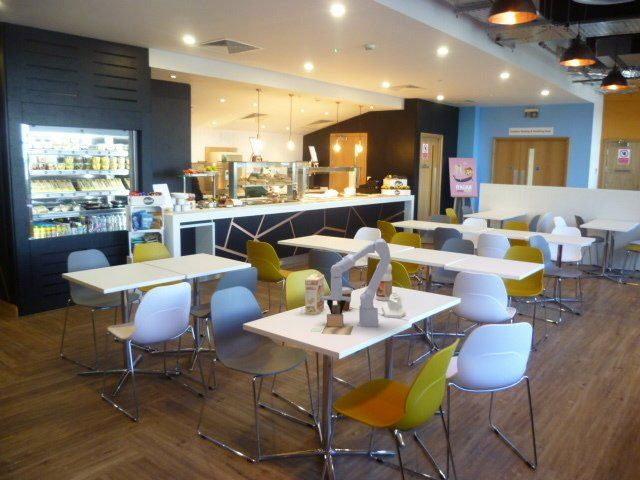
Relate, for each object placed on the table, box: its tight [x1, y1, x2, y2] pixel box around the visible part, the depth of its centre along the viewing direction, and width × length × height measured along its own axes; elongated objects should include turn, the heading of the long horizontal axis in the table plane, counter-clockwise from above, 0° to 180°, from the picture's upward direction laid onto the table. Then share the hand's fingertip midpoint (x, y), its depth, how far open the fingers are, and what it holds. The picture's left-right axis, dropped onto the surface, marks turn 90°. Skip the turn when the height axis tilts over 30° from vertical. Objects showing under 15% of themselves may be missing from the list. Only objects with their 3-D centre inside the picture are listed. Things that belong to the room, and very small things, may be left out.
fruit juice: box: [375, 259, 393, 302], centre depth 316 cm, size 9×9×28 cm
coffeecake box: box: [304, 273, 325, 316], centre depth 291 cm, size 15×7×20 cm, turn 164°
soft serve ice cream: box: [381, 290, 407, 319], centre depth 284 cm, size 12×15×14 cm
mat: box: [320, 324, 355, 336], centre depth 259 cm, size 14×14×1 cm
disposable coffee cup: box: [336, 286, 353, 312], centre depth 295 cm, size 10×10×12 cm
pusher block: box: [332, 304, 340, 314], centre depth 268 cm, size 4×4×7 cm
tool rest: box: [310, 328, 323, 333], centre depth 258 cm, size 5×5×1 cm
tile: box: [326, 313, 344, 327], centre depth 264 cm, size 8×2×6 cm, turn 80°
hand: (336, 314), depth 268 cm, fingers closed on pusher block, 4 cm apart
